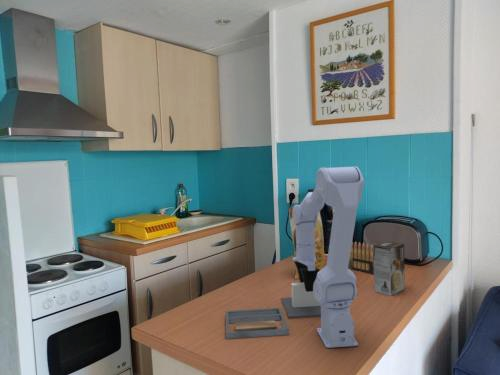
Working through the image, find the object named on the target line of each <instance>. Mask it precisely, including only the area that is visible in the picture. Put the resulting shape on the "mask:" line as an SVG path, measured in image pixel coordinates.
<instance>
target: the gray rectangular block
mask: <svg viewBox="0 0 500 375" xmlns="http://www.w3.org/2000/svg"><path fill="white" fill-rule="evenodd" d="M291 297H292V306H293V308H294V307H309V306H321V304H319V303H318V302H317V300H316V299H315V296H314V292H313V291H310V292H306V289H305V285H304V282H302V283H301V282H291Z"/></svg>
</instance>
